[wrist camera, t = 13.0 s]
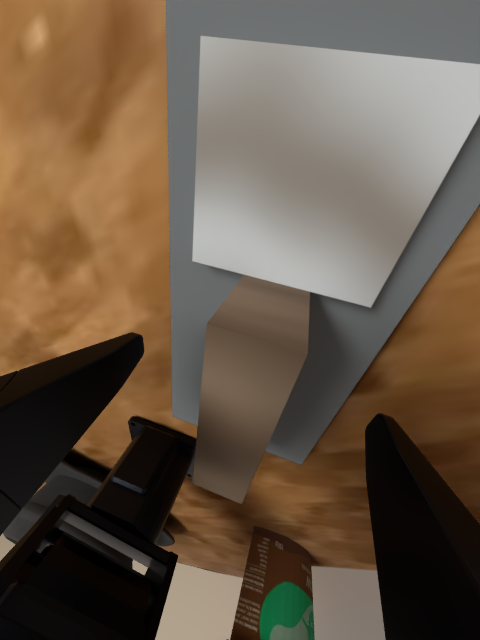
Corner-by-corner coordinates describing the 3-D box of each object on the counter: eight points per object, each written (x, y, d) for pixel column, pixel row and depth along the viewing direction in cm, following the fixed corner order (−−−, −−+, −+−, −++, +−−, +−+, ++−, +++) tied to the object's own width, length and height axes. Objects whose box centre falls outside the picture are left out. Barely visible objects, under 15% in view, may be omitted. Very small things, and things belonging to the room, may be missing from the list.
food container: (333, 578, 27) (342, 749, 19) (284, 565, 30) (273, 711, 22) (304, 529, 22) (298, 731, 14) (249, 520, 25) (217, 684, 17)
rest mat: (301, 457, 16) (301, 464, 16) (175, 410, 18) (172, 416, 17) (693, -136, 4) (735, -172, 4) (174, -133, 5) (163, -159, 5)
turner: (293, 434, 14) (285, 522, 11) (192, 398, 15) (153, 467, 12) (483, 81, 5) (849, -138, 2) (212, 50, 6) (74, -128, 3)
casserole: (26, 450, 36) (-42, 514, 29) (53, 420, 26) (-40, 506, 19) (145, 529, 41) (111, 598, 34) (206, 529, 31) (175, 627, 24)
